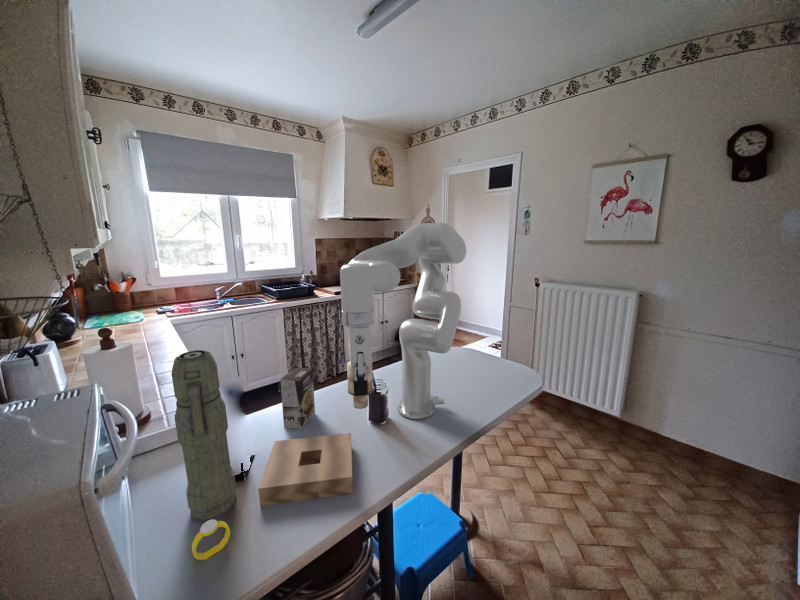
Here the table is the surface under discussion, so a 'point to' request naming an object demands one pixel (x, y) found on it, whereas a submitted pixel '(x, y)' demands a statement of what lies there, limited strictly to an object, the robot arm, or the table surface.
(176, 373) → the thermos
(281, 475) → the board
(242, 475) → the black angular piece
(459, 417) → the table surface
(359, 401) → the peg
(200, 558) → the watch
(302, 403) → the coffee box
